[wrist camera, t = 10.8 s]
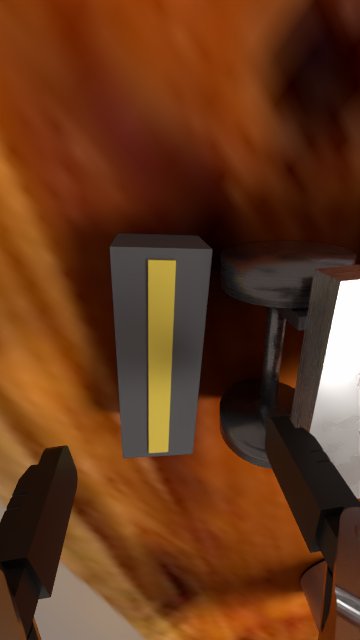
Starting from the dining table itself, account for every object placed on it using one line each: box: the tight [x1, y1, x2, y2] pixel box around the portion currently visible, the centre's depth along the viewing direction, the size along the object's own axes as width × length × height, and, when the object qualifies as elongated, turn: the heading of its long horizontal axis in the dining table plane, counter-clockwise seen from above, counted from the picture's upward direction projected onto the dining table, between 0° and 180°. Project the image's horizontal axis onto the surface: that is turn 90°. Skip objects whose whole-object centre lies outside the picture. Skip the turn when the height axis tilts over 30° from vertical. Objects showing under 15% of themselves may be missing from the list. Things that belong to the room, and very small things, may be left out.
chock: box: [110, 233, 213, 458], centre depth 16 cm, size 13×4×4 cm, turn 177°
